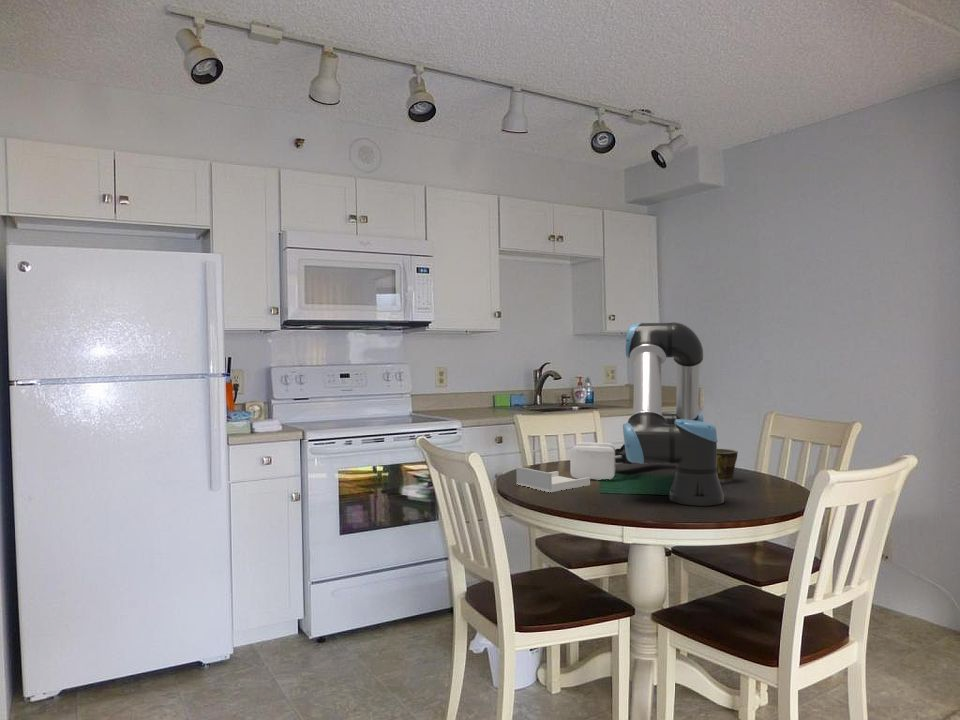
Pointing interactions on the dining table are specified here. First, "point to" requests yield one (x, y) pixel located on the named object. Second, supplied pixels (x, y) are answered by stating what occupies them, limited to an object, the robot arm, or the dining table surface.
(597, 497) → the dining table surface
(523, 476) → the tray
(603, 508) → the dining table surface
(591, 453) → the cable organizer
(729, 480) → the ceramic cup
